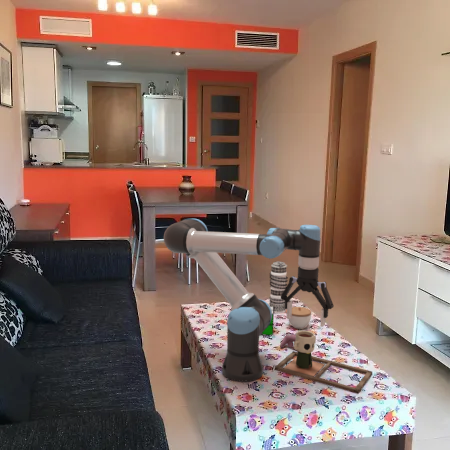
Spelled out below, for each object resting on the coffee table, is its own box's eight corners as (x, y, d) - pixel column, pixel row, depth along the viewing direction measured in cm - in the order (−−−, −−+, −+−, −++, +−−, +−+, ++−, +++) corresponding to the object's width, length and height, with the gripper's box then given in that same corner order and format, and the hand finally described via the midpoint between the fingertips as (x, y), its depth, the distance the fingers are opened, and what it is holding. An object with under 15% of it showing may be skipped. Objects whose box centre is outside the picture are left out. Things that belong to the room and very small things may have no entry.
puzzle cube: (273, 327, 228) (273, 306, 226) (273, 335, 218) (273, 314, 216) (251, 326, 229) (252, 305, 227) (250, 334, 219) (250, 313, 217)
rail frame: (358, 393, 169) (358, 390, 169) (274, 369, 185) (274, 367, 185) (372, 374, 183) (372, 371, 183) (293, 353, 200) (293, 351, 199)
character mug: (300, 373, 182) (301, 340, 180) (287, 366, 188) (288, 334, 186) (320, 366, 188) (322, 333, 186) (307, 359, 194) (309, 328, 192)
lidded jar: (308, 322, 234) (308, 303, 232) (312, 330, 224) (313, 311, 222) (285, 322, 234) (286, 303, 232) (289, 330, 223) (290, 311, 222)
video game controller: (303, 355, 202) (308, 338, 203) (298, 354, 198) (303, 337, 200) (283, 348, 208) (288, 332, 209) (278, 347, 204) (283, 330, 206)
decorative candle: (266, 307, 254) (268, 260, 249) (284, 307, 255) (286, 260, 250) (270, 313, 245) (271, 265, 240) (288, 313, 246) (290, 264, 241)
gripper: (344, 270, 178) (340, 325, 182) (282, 259, 191) (279, 311, 195) (337, 274, 172) (333, 332, 175) (273, 263, 185) (271, 317, 188)
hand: (305, 321), depth 185 cm, fingers open, 13 cm apart
